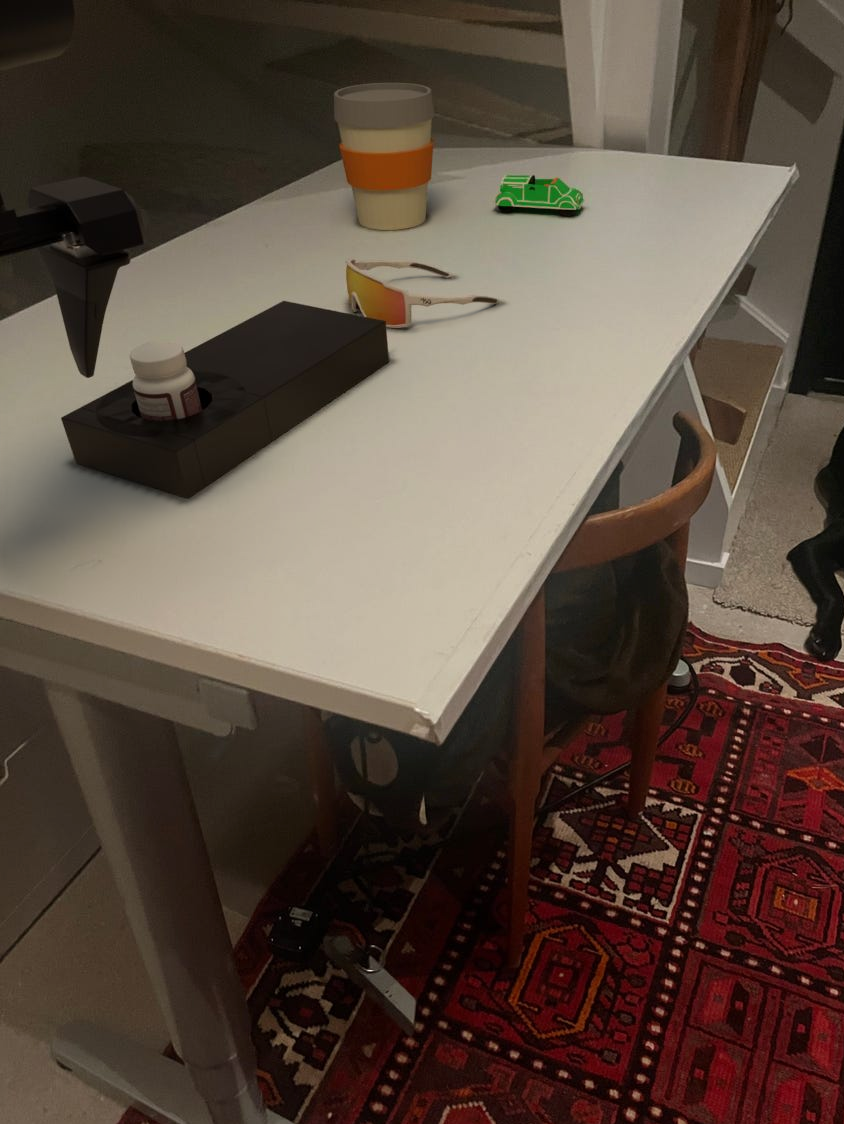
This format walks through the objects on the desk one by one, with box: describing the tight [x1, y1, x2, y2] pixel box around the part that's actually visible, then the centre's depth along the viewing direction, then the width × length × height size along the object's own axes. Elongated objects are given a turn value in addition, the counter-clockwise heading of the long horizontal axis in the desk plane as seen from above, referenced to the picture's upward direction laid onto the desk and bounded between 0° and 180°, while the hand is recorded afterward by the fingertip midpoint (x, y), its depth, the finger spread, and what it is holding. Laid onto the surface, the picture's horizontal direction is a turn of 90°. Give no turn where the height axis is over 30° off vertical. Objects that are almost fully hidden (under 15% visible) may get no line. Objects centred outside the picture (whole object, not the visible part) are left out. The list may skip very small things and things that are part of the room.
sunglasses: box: [345, 258, 500, 329], centre depth 99 cm, size 14×15×5 cm
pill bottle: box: [129, 340, 202, 421], centre depth 73 cm, size 5×5×8 cm
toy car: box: [491, 174, 585, 218], centre depth 125 cm, size 12×5×4 cm, turn 75°
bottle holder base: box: [60, 300, 390, 499], centre depth 80 cm, size 28×12×4 cm, turn 151°
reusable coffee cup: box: [333, 82, 435, 231], centre depth 119 cm, size 13×13×15 cm
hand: (14, 400), depth 54 cm, fingers open, 9 cm apart
